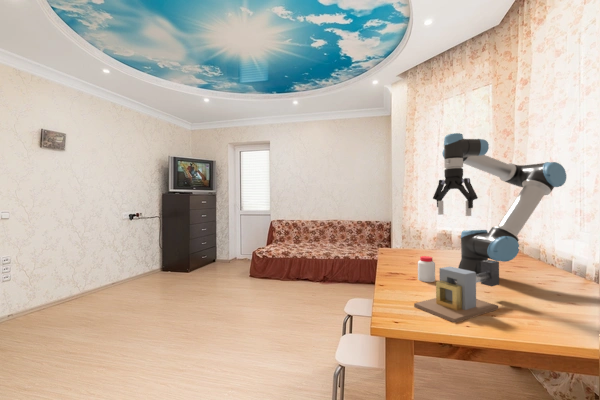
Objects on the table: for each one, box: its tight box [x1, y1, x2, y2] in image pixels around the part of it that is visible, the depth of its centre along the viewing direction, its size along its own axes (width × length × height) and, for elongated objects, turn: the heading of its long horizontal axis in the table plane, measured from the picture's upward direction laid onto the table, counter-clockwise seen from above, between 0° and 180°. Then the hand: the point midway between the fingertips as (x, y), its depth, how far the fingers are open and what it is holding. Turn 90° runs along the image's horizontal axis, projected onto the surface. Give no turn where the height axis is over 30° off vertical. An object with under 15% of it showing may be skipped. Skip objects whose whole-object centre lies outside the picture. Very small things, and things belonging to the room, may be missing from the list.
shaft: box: [452, 259, 500, 287], centre depth 111 cm, size 24×4×9 cm, turn 117°
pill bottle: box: [417, 255, 436, 283], centre depth 142 cm, size 8×8×11 cm
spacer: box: [435, 280, 462, 311], centre depth 104 cm, size 3×8×8 cm, turn 27°
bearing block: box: [413, 266, 499, 324], centre depth 106 cm, size 24×16×14 cm, turn 117°
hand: (454, 215), depth 133 cm, fingers open, 13 cm apart
